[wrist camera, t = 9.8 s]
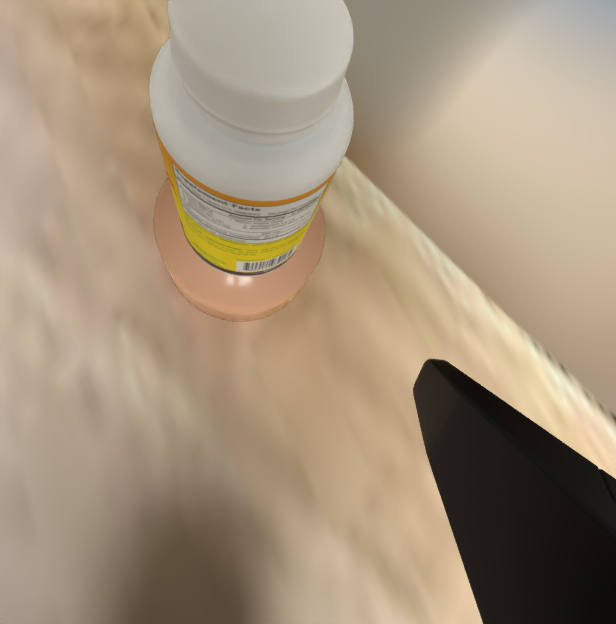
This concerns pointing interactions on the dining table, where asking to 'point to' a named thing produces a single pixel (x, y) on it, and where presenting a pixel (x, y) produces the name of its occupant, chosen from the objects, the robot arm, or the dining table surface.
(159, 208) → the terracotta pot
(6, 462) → the dining table surface
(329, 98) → the supplement bottle
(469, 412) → the robot arm
